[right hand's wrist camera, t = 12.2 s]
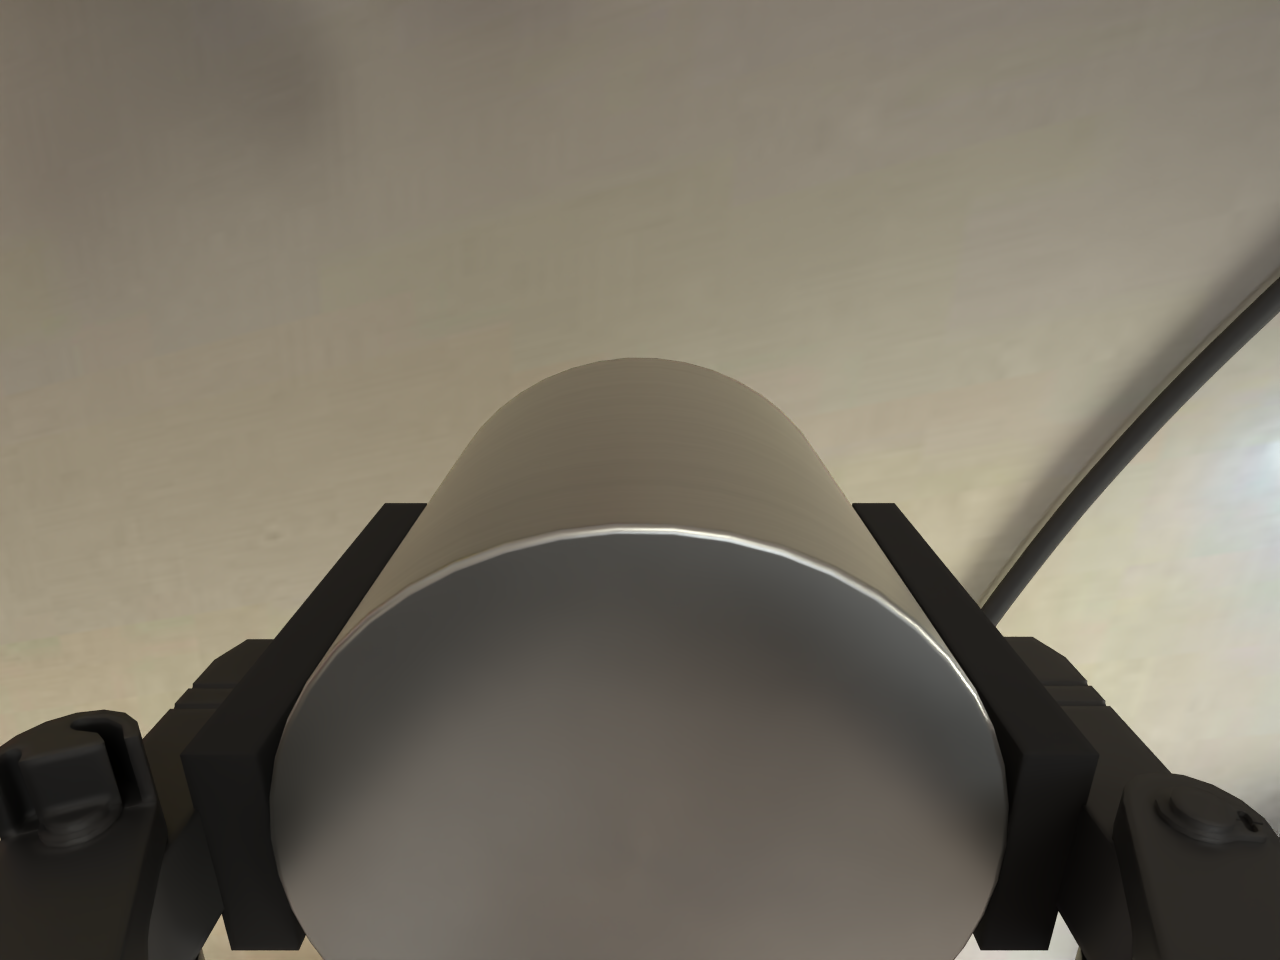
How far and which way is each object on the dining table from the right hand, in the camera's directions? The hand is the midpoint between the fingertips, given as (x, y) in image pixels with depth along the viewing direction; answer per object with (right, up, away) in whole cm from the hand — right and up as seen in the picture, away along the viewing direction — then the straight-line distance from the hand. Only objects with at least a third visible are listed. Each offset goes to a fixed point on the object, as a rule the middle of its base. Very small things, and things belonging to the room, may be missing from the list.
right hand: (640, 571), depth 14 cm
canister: (0, 0, 0) cm, 1 cm away
